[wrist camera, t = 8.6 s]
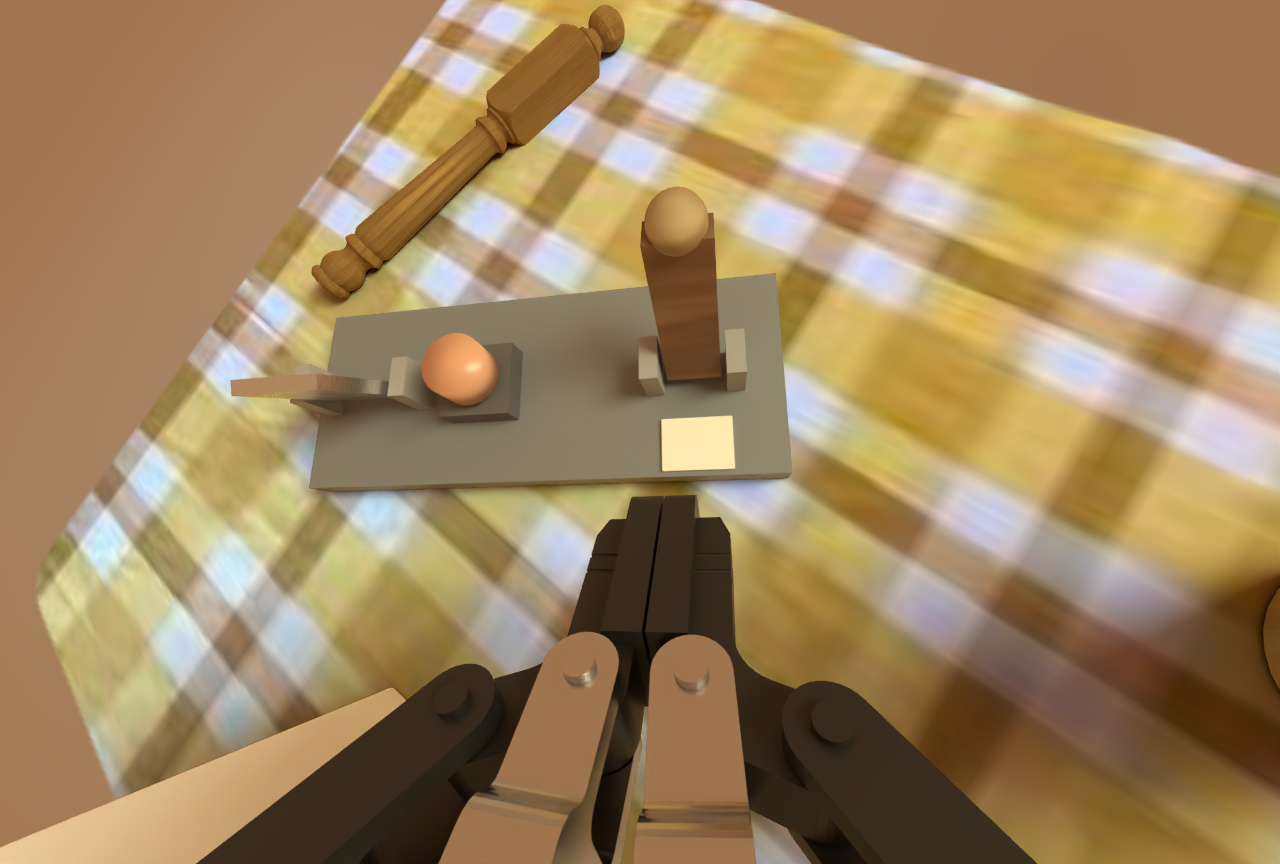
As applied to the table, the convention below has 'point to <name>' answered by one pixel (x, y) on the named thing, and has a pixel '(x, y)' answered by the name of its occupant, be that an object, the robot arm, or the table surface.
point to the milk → (201, 798)
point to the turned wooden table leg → (480, 143)
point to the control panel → (557, 397)
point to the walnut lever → (683, 282)
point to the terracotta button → (460, 369)
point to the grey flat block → (311, 387)
